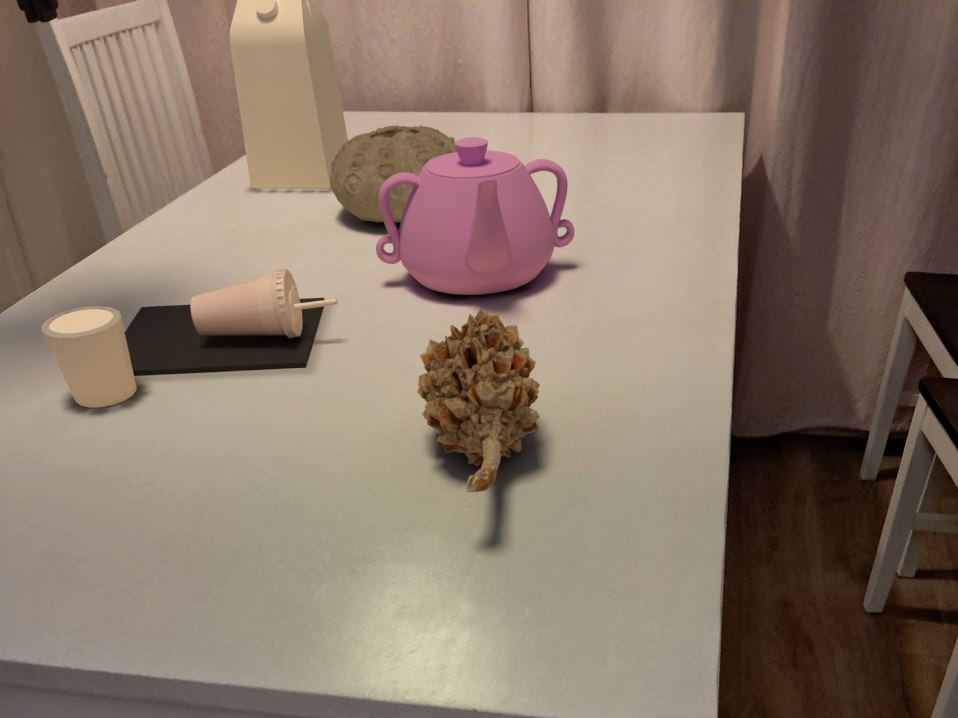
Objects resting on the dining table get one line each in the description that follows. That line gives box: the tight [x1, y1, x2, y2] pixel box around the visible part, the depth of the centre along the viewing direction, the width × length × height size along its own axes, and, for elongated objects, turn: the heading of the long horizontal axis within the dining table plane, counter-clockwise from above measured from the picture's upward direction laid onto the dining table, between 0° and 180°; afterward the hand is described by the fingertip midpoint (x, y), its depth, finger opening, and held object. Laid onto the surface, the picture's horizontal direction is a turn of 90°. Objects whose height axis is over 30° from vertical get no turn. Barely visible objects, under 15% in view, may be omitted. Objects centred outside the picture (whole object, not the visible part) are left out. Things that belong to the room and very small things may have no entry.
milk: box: [229, 0, 349, 189], centre depth 128 cm, size 12×12×26 cm
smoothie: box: [189, 268, 339, 338], centre depth 90 cm, size 6×6×14 cm
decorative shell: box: [330, 124, 457, 224], centre depth 118 cm, size 18×18×10 cm
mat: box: [124, 297, 325, 376], centre depth 94 cm, size 20×16×1 cm
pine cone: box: [416, 308, 541, 493], centre depth 69 cm, size 22×10×10 cm, turn 6°
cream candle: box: [41, 305, 138, 409], centre depth 84 cm, size 7×7×7 cm
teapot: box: [375, 136, 575, 296], centre depth 97 cm, size 22×22×14 cm
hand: (43, 19), depth 82 cm, fingers closed
